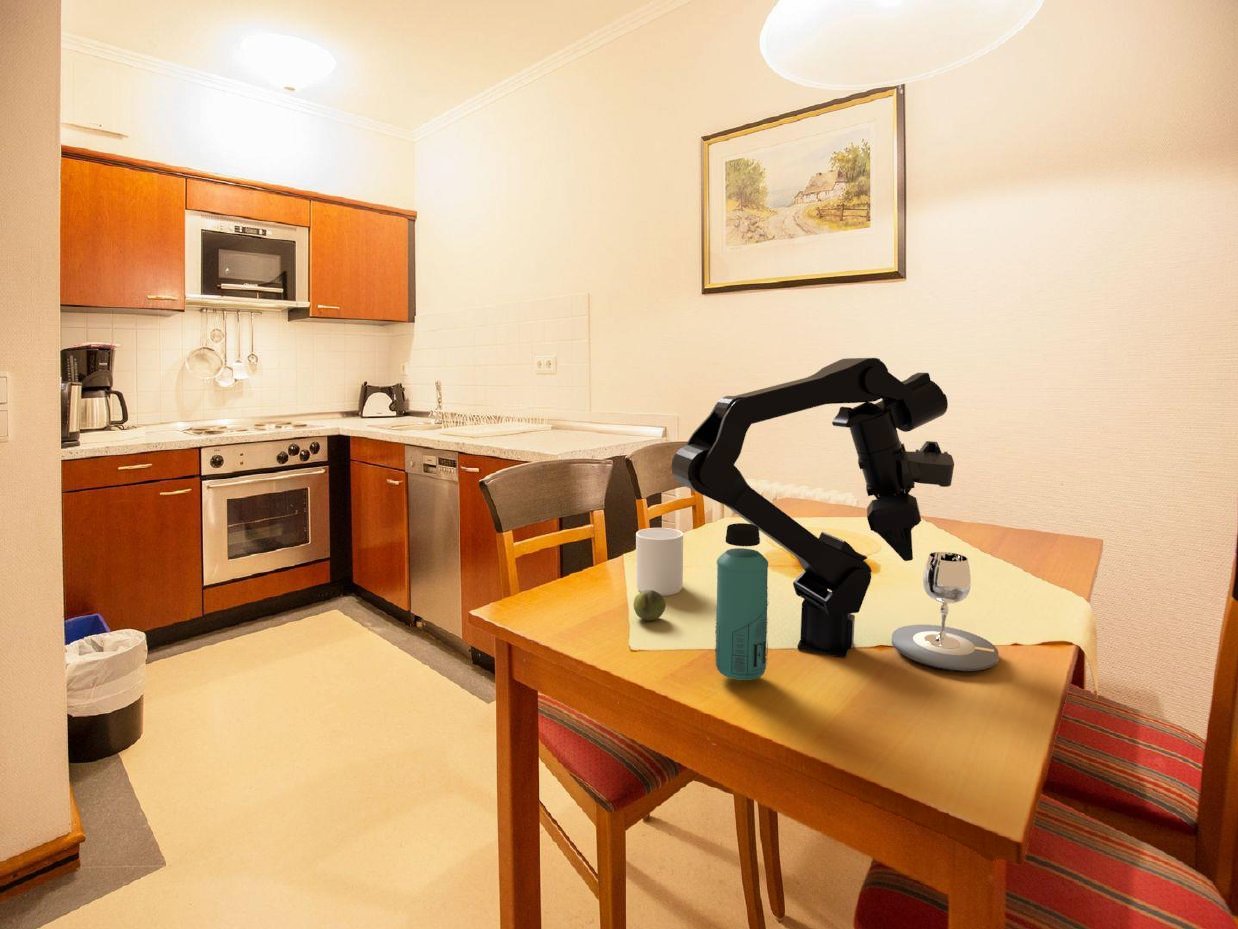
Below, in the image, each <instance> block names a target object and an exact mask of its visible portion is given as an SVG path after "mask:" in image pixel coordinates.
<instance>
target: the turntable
mask: <svg viewBox="0 0 1238 929" xmlns="http://www.w3.org/2000/svg"><path fill="white" fill-rule="evenodd" d="M940 631H941V625H936V624H911V625H910V624H909V625H904V626H901V627H898V628H897V629H895V630H894V631H893V632H892V634H891V645H892V646H893V648H894V649H895V650H896V651H897V652H898V653H900V654H901V655H903V656H905V657H906V658H909V659H911V660H912V661H914V660H915V662H916V661H918V662H920V663H919V664H921V663H923V664H927V665H930V666H934V667H939V668H944V669H950V670H961V671H965V672H972V671H982V670H987V669H989V668H993V667H994V666H995V665H997V663H998V661H999V650H998V648H997V647H996V645H995V644H993V643H992V642H990V641H989V640H987V639H986V638H983V637H981V636H980V635H977V634H974V633H972V632H969V631H965V630H964V629H963V630H962V629H959V628H954V627H950V626H945V633H946V635H947V636H949V637H952V638H955V639H956V640H958V641H959V642H960V646H959V647H957V648H941V647H936V646H933V645H931V644H929V643H927V642H926V641H925V640H924V637H925V636H927V635H930V634H939V633H940ZM918 662H917V663H918ZM923 664H922V665H923Z"/></svg>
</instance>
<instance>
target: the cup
mask: <svg viewBox="0 0 1238 929" xmlns="http://www.w3.org/2000/svg"><path fill="white" fill-rule="evenodd" d="M635 540H636V541H635V557H636V558H635V564H636V565H635V580H636V581H635V582H636V583H635V584H636V588H637V590H638V591H639V593H641V592H642V591H645V590H653V591H656V592H657V593H659V594H661V595H662V596H663V597H668V596H672V595H676V594H678V593H679V592H681V590H682V588H683V582H684V577H683V576H684V533H683V531H681V530H678V529H675V528H668V527H649V528H643V529H639V530H638V531H636V533H635Z"/></svg>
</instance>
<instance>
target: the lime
mask: <svg viewBox="0 0 1238 929" xmlns="http://www.w3.org/2000/svg"><path fill="white" fill-rule="evenodd" d="M666 606H667V602H666V599H665V598H664V596H662V595H661V594H659V593H657V592H656V591H653V590H645V591H642V592H639V593H638V594H637V595H636V596H635V597H634V600H633V609H634V612H635V614H636V616H637V617H638V618H640V619H642V620H644V621H647V622H648V621H656V620H657V619H658V618H659V619H660V618H661V617H662V615H663V614H664V612H665V610H666Z"/></svg>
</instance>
